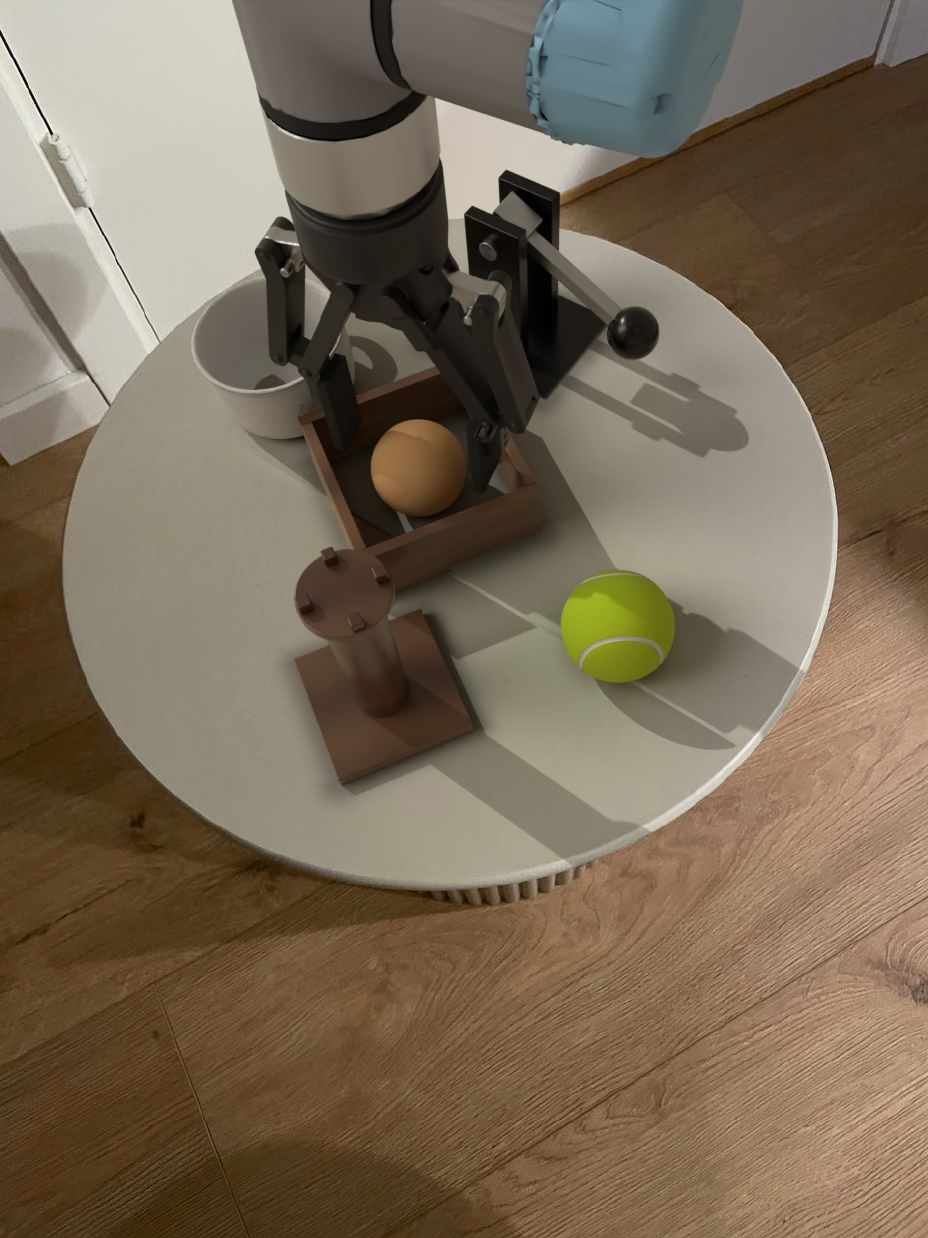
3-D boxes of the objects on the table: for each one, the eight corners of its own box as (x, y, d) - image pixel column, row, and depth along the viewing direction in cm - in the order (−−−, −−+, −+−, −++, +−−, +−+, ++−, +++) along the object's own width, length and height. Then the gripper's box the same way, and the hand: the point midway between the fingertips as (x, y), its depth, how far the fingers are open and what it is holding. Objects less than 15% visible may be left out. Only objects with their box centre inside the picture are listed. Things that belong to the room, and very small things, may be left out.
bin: (542, 537, 69) (542, 491, 64) (372, 605, 68) (358, 562, 62) (472, 407, 75) (467, 353, 69) (314, 466, 73) (296, 416, 68)
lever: (653, 345, 71) (678, 321, 68) (627, 378, 70) (651, 356, 67) (503, 209, 70) (521, 178, 66) (473, 241, 68) (490, 211, 65)
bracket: (608, 328, 77) (619, 191, 66) (543, 407, 74) (544, 277, 63) (491, 273, 80) (483, 134, 69) (425, 346, 78) (405, 213, 66)
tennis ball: (673, 697, 63) (687, 651, 57) (563, 701, 64) (565, 656, 57) (662, 600, 66) (674, 546, 60) (557, 604, 67) (558, 551, 60)
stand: (474, 731, 63) (455, 624, 49) (341, 787, 62) (284, 693, 48) (422, 616, 67) (392, 487, 53) (296, 666, 66) (232, 548, 52)
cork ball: (484, 513, 69) (478, 458, 64) (397, 547, 69) (383, 494, 63) (449, 444, 72) (441, 386, 66) (365, 476, 71) (349, 420, 66)
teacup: (335, 471, 73) (312, 401, 66) (199, 444, 75) (163, 373, 68) (392, 329, 79) (377, 250, 71) (265, 307, 81) (238, 228, 73)
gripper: (614, 163, 45) (592, 457, 65) (197, 72, 50) (295, 370, 70) (557, 280, 42) (552, 550, 62) (120, 171, 47) (245, 453, 67)
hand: (416, 455), depth 66 cm, fingers open, 9 cm apart
